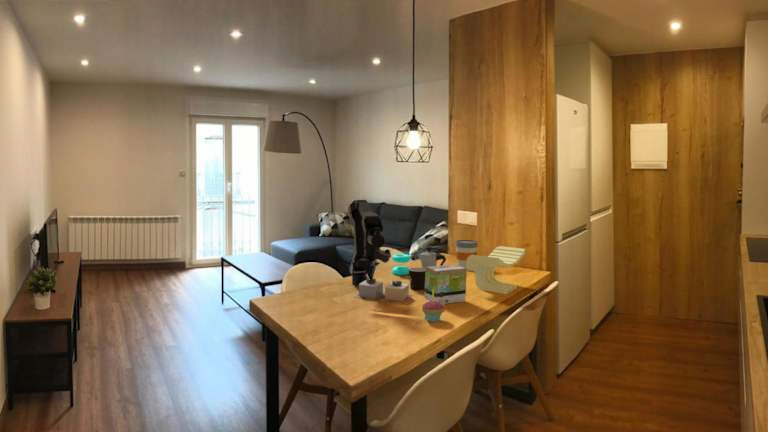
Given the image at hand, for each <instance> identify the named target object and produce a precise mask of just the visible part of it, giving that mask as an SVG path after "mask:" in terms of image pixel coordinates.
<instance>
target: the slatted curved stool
mask: <svg viewBox="0 0 768 432" xmlns="http://www.w3.org/2000/svg"><path fill="white" fill-rule="evenodd" d="M525 255H526V248H521V247H513V246H504V245H503V246H502V245H499V246H496V247H495V248H494V249H493V250H492V251H491V252H490V253H489V254H488V255H487V256H486V255H479V254H478V255H470V256H469V257H468V258H467V260H466V269H467V271H469V272H474V277H475V278H474V280H475V281H474V282H475V285H476V288H478V289H479V290H480V291H487V292H492V293H496V294H497V293H498V294H503V295H506V294H509V293H510V292H513V291H514V290H517V289H518V287H517V284H513V283H508V282H505V281H501V280H499V279H497V278H496V276H495V275H494V272H495V269H496V268H506V269H507V268H510V267H512V266H515V265H517V264H519V262H520V261H521V259H523V258H524V256H525Z"/></svg>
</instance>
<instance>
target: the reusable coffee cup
mask: <svg viewBox="0 0 768 432" xmlns="http://www.w3.org/2000/svg"><path fill="white" fill-rule="evenodd" d="M477 249H478V241H477V240H473V239H458V240H455V258H456V261H457V266H460V267H463V268H466V260H467V258H468V257H469V256H470V255H477V254H478V251H477Z"/></svg>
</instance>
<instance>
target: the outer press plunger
mask: <svg viewBox="0 0 768 432" xmlns="http://www.w3.org/2000/svg"><path fill="white" fill-rule="evenodd" d="M402 283H403V282H402V281H401V280H392V285H395V286H400V285H402Z"/></svg>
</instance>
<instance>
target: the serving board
mask: <svg viewBox="0 0 768 432" xmlns="http://www.w3.org/2000/svg"><path fill="white" fill-rule="evenodd" d="M412 297H414V295H412V294H409V297H407V298H406V299H405V300H404V301H396V300H387V299H385V291H383V294H382V295H380V296H379V297H377V298H369V297H360V296H359V293H358V294H357V295H355V296H354V297H353V298H355V299H363V300H370V301H371V300H372V301H381V302H390V303H399V304H405V303H406V302H408V301H409V300H410V299H411V298H412Z"/></svg>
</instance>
